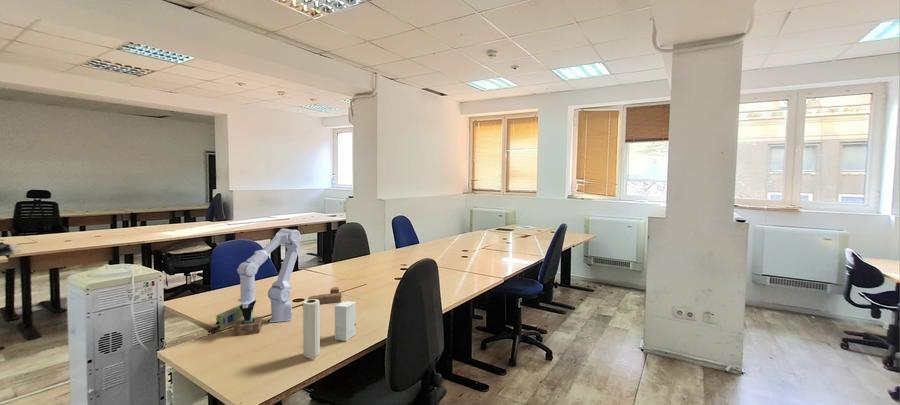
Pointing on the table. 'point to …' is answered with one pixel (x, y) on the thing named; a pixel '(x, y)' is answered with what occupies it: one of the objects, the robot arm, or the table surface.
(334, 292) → the wooden block set
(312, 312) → the paper towel roll
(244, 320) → the peg
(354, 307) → the skincare box
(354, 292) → the table surface
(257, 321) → the socket block
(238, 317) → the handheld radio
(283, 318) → the robot arm
